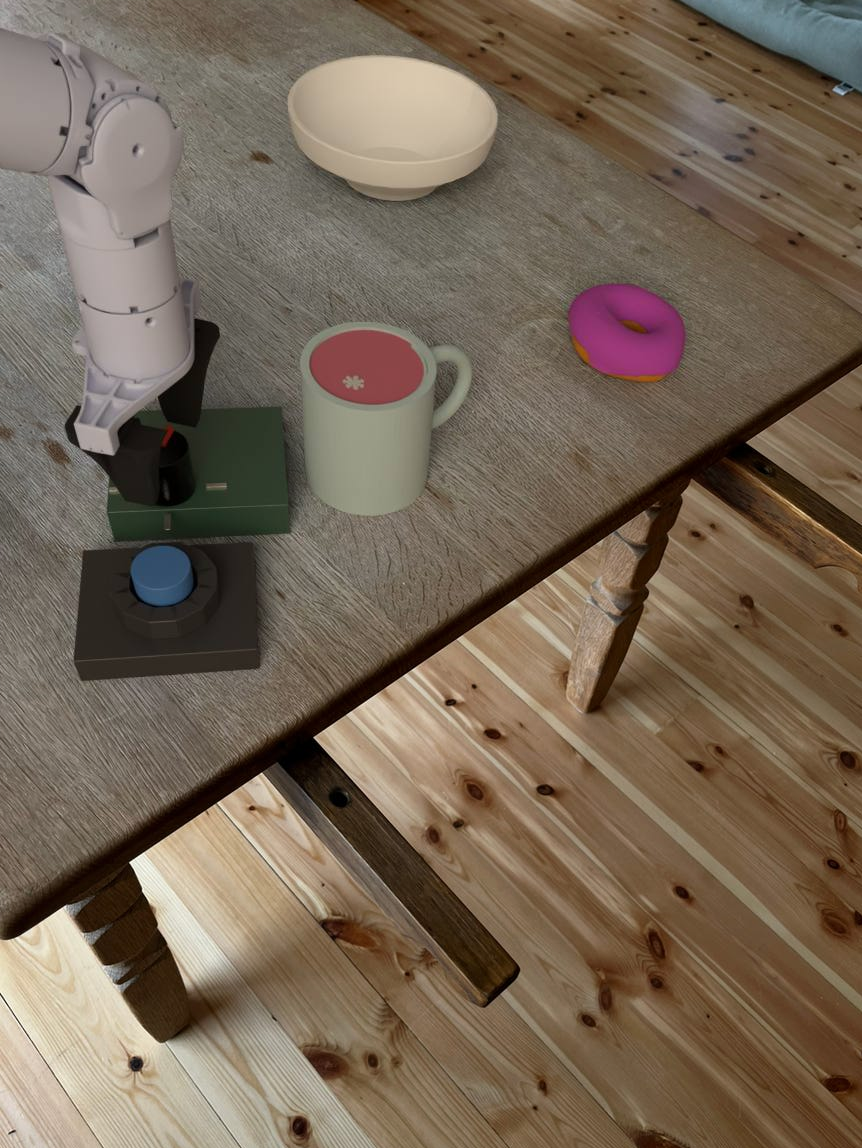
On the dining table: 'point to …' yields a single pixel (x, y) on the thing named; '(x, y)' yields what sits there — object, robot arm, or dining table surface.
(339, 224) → the dining table surface
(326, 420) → the mug
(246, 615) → the button block
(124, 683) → the dining table surface
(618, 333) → the donut
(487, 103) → the bowl
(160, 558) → the plunger
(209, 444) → the panel
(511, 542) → the dining table surface
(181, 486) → the knob
